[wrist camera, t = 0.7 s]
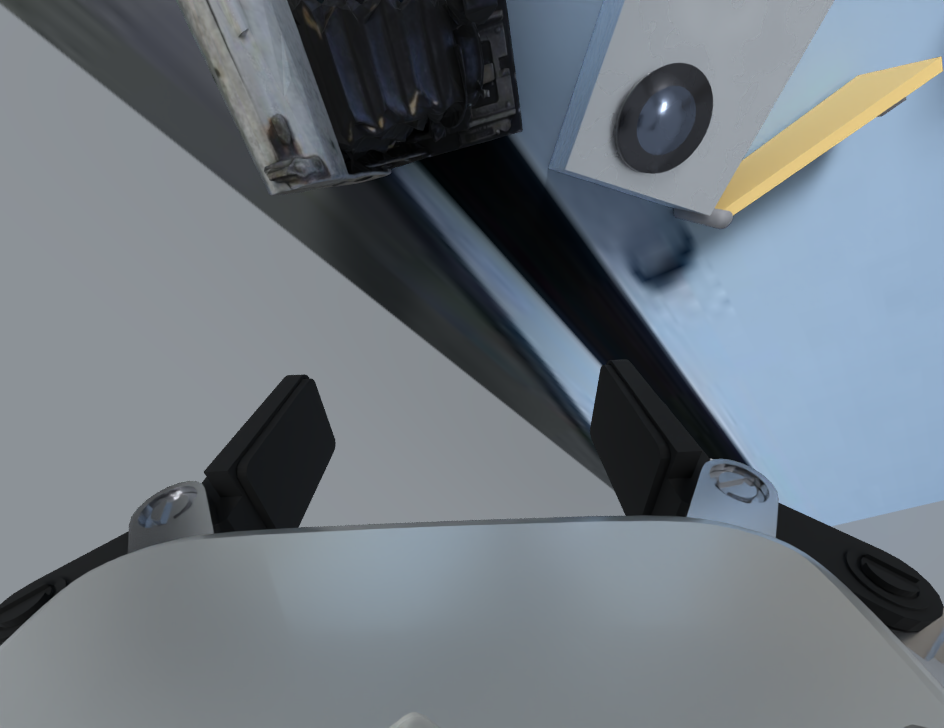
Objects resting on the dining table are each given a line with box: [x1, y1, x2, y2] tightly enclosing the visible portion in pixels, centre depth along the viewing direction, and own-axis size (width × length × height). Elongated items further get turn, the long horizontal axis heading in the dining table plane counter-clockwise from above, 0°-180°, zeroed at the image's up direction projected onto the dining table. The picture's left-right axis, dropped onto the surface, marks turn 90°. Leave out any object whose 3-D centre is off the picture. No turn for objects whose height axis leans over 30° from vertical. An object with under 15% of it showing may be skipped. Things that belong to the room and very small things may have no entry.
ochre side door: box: [673, 57, 943, 229], centre depth 29 cm, size 16×2×7 cm, turn 130°
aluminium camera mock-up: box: [548, 0, 834, 216], centre depth 25 cm, size 18×13×8 cm
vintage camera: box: [176, 0, 523, 195], centre depth 21 cm, size 10×16×20 cm, turn 103°
